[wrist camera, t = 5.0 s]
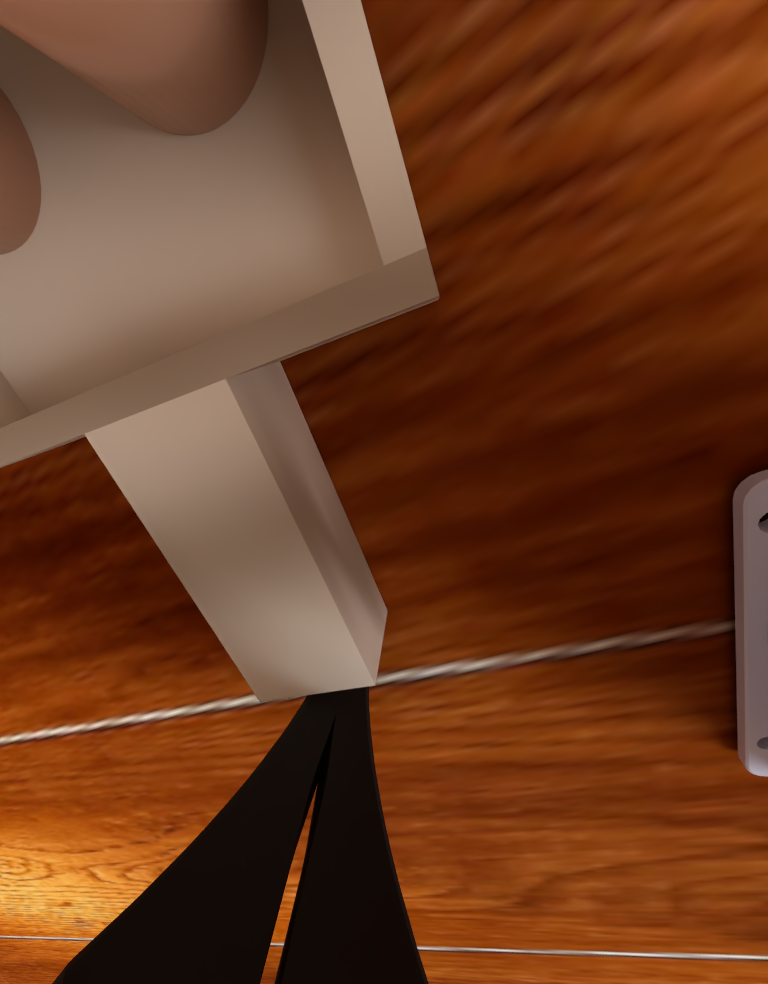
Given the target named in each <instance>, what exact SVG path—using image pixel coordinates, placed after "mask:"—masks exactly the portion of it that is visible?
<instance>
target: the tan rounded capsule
mask: <svg viewBox="0 0 768 984" xmlns="http://www.w3.org/2000/svg"><path fill="white" fill-rule="evenodd" d="M0 25H1V26H2V27H4V28H5V29H7V30H8V31H10V32H11V33H13V34H14V35H16V36H17V37H19V38H20V39H22V40H23V41H25V42H26V43H28V44H29V45H31V46H32V47H34V48H35V49H37V50H38V51H40V52H41V53H43V54H44V55H45V56H47V57H48V58H50V59H51V60H53V61H54V62H56V63H57V64H59V65H60V66H62V67H63V68H65V69H66V70H68V71H69V72H71V73H72V74H74V75H75V76H77V77H78V78H80V79H81V80H83V81H84V82H86V83H87V84H89V85H90V86H92V87H93V88H95V89H96V90H98V91H99V92H101V93H102V94H104V95H105V96H107V97H108V98H110V99H111V100H113V101H114V102H116V103H117V104H119V105H120V106H122V107H123V108H125V109H126V110H127V111H129V112H130V113H132V114H133V115H135V116H136V117H138V118H139V119H141V120H143V121H144V122H146V123H147V124H149V125H150V126H153V127H155V128H157V129H159V130H161V131H164V132H168V133H171V134H176V135H185V136H187V135H199V134H203V133H207V132H210V131H212V130H214V129H216V128H218V127H220V126H221V125H223V124H224V123H226V122H227V121H229V120H230V119H231V118H232V117H233V116H234V115H235V114H236V113H237V112H238V111H239V110H240V108H241V107H242V106H243V104H244V103H245V102H246V100H247V99H248V97H249V95H250V93H251V92H252V90H253V88H254V85H255V83H256V81H257V78H258V76H259V73H260V70H261V66H262V63H263V59H264V54H265V48H266V43H267V32H268V0H0Z"/></svg>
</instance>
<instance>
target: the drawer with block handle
mask: <svg viewBox="0 0 768 984" xmlns="http://www.w3.org/2000/svg"><path fill="white" fill-rule="evenodd" d="M0 88H1V89H2V90H3V92H4V93H5V95H6V96H7V97H8V99H9V100H10V102H11V103H12V105H13V106H14V108H15V110H16V111H17V113H18V115H19V117H20V118H21V120H22V123H23V125H24V127H25V129H26V131H27V133H28V136H29V138H30V141H31V143H32V146H33V149H34V152H35V156H36V159H37V163H38V168H39V173H40V182H41V206H40V213H39V217H38V221H37V224H36V226H35V228H34V231H33V233H32V234H31V236H30V237H29V239H28V240H27V241H26V242H25V243H24V244H23V245H22V246H21V247H19V248H18V249H16V250H15V251H12V252H10V253H7V254H2V255H0V468H2V467H5V466H7V465H10V464H13V463H16V462H18V461H21V460H24V459H27V458H29V457H32V456H35V455H38V454H41V453H43V452H46V451H49V450H52V449H54V448H57V447H60V446H62V445H65V444H68V443H70V442H73V441H75V440H78V439H81V438H83V437H86V438H87V439H88V441H89V442H90V444H91V445H92V447H93V448H94V450H95V451H96V453H97V454H98V456H99V457H100V459H101V460H102V462H103V464H104V465H105V467H106V468H107V470H108V471H109V473H110V474H111V476H112V477H113V479H114V480H115V482H116V483H117V485H118V486H119V488H120V489H121V491H122V492H123V494H124V496H125V497H126V499H127V500H128V502H129V503H130V505H131V506H132V508H133V509H134V511H135V512H136V514H137V515H138V517H139V518H140V520H141V521H142V523H143V524H144V526H145V528H146V529H147V531H148V532H149V534H150V535H151V537H152V538H153V540H154V541H155V543H156V544H157V546H158V547H159V549H160V550H161V552H162V553H163V555H164V556H165V558H166V560H167V561H168V563H169V564H170V566H171V567H172V569H173V570H174V572H175V573H176V575H177V576H178V578H179V579H180V581H181V582H182V584H183V585H184V587H185V588H186V590H187V592H188V593H189V595H190V596H191V598H192V599H193V601H194V602H195V604H196V605H197V607H198V608H199V610H200V611H201V613H202V614H203V616H204V617H205V619H206V620H207V622H208V624H209V625H210V627H211V628H212V630H213V631H214V633H215V634H216V636H217V637H218V639H219V640H220V642H221V643H222V645H223V646H224V648H225V649H226V651H227V652H228V654H229V656H230V657H231V659H232V660H233V662H234V663H235V665H236V666H237V668H238V669H239V671H240V672H241V674H242V675H243V677H244V678H245V680H246V681H247V683H248V684H249V686H250V688H251V689H252V691H253V692H254V694H255V695H256V697H257V698H258V700H259V701H260V702H263V701H270V700H277V699H284V698H291V697H298V696H305V695H312V694H319V693H326V692H333V691H339V690H346V689H353V688H360V687H367V686H374V685H376V679H377V673H378V667H379V660H380V654H381V648H382V642H383V636H384V630H385V624H386V618H387V612H388V611H387V608H386V606H385V604H384V601H383V599H382V597H381V594H380V592H379V590H378V587H377V585H376V583H375V580H374V578H373V576H372V573H371V571H370V569H369V567H368V564H367V562H366V560H365V557H364V555H363V553H362V550H361V548H360V546H359V543H358V541H357V539H356V536H355V534H354V532H353V529H352V527H351V525H350V522H349V520H348V518H347V515H346V513H345V511H344V508H343V506H342V504H341V502H340V499H339V497H338V495H337V492H336V490H335V488H334V485H333V483H332V481H331V478H330V476H329V474H328V471H327V469H326V467H325V464H324V462H323V460H322V457H321V455H320V453H319V450H318V448H317V446H316V443H315V441H314V439H313V437H312V434H311V432H310V430H309V427H308V425H307V423H306V420H305V418H304V416H303V413H302V411H301V409H300V406H299V404H298V402H297V399H296V397H295V395H294V392H293V390H292V388H291V385H290V383H289V381H288V378H287V376H286V374H285V372H284V369H283V367H282V365H281V362H280V361H282V360H285V359H287V358H290V357H292V356H295V355H298V354H300V353H303V352H305V351H308V350H310V349H313V348H316V347H318V346H321V345H323V344H326V343H329V342H331V341H334V340H336V339H339V338H341V337H344V336H347V335H349V334H352V333H354V332H357V331H360V330H362V329H365V328H367V327H370V326H372V325H375V324H378V323H380V322H383V321H385V320H388V319H391V318H393V317H396V316H398V315H401V314H403V313H406V312H409V311H411V310H414V309H416V308H419V307H422V306H424V305H427V304H429V303H432V302H434V301H437V300H439V292H438V288H437V284H436V281H435V277H434V273H433V269H432V266H431V262H430V258H429V254H428V251H427V247H426V243H425V239H424V236H423V232H422V228H421V224H420V221H419V217H418V213H417V209H416V206H415V202H414V198H413V194H412V191H411V187H410V183H409V179H408V176H407V172H406V168H405V164H404V161H403V157H402V153H401V149H400V146H399V142H398V138H397V134H396V131H395V127H394V123H393V119H392V116H391V112H390V108H389V104H388V101H387V97H386V93H385V90H384V86H383V82H382V78H381V75H380V71H379V67H378V63H377V60H376V56H375V52H374V48H373V45H372V41H371V37H370V33H369V30H368V26H367V22H366V18H365V15H364V11H363V7H362V3H361V0H268V32H267V43H266V48H265V54H264V59H263V63H262V66H261V70H260V73H259V76H258V78H257V81H256V83H255V85H254V88H253V90H252V92H251V93H250V95H249V97H248V99H247V100H246V102H245V103H244V104H243V106H242V107H241V108H240V110H239V111H238V112H237V113H236V114H235V115H234V116H233V117H232V118H231V119H230V120H229V121H227V122H226V123H224V124H223V125H221V126H220V127H218V128H216V129H214V130H212V131H210V132H207V133H203V134H199V135H187V136H185V135H176V134H171V133H168V132H164V131H161V130H159V129H157V128H155V127H153V126H150V125H149V124H147V123H146V122H144V121H143V120H141V119H139V118H138V117H136V116H135V115H133V114H132V113H130V112H129V111H127V110H126V109H125V108H123V107H122V106H120V105H119V104H117V103H116V102H114V101H113V100H111V99H110V98H108V97H107V96H105V95H104V94H102V93H101V92H99V91H98V90H96V89H95V88H93V87H92V86H90V85H89V84H87V83H86V82H84V81H83V80H81V79H80V78H78V77H77V76H75V75H74V74H72V73H71V72H69V71H68V70H66V69H65V68H63V67H62V66H60V65H59V64H57V63H56V62H54V61H53V60H51V59H50V58H48V57H47V56H45V55H44V54H43V53H41V52H40V51H38V50H37V49H35V48H34V47H32V46H31V45H29V44H28V43H26V42H25V41H23V40H22V39H20V38H19V37H17V36H16V35H14V34H13V33H11V32H10V31H8V30H7V29H5V28H4V27H2V26H1V25H0Z"/></svg>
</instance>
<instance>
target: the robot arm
mask: <svg viewBox="0 0 768 984" xmlns="http://www.w3.org/2000/svg"><path fill="white" fill-rule="evenodd" d="M766 513H768V470H764V471H760V472H758V473H755V474H752V475H750V476H749V477H747V478H746V479H744V480H743V481H742V482H741V483H740V484H739V485H738V487H737V488H736V490H735V492H734V496H733V535H734V584H735V633H736V682H737V731H738V756H739V759H740V760H741V762H742V763H743V765H744V766H745V768H746V769H747V770H748V771H749V772H750V773H752V774H755V775H759V776H768V519H767V520H765V521H763V522H760V523H759V520H760V518H761V517H762V516H764V515H765V514H766ZM317 783H318V785H317ZM316 786H317V790H316V796H315V802H314V808H313V813H312V819H311V825H310V831H309V836H308V842H307V848H306V853H305V858H304V863H303V868H302V872H301V877H300V881H299V885H298V889H297V893H296V897H295V902H294V906H293V910H292V914H291V918H290V922H289V926H288V930H287V935H286V939H285V943H284V947H283V951H282V955H281V959H280V963H279V967H278V972H277V976H276V980H275V984H428V981H427V978H426V974H425V971H424V968H423V965H422V962H421V958H420V955H419V952H418V949H417V946H416V942H415V939H414V935H413V932H412V928H411V925H410V921H409V917H408V914H407V910H406V907H405V903H404V900H403V896H402V893H401V889H400V885H399V882H398V878H397V874H396V869H395V865H394V861H393V857H392V853H391V849H390V844H389V840H388V835H387V831H386V826H385V821H384V816H383V811H382V806H381V801H380V795H379V789H378V783H377V777H376V770H375V763H374V755H373V747H372V738H371V728H370V714H369V686H367V687H360V688H353V689H346V690H339V691H333V692H326V693H319V694H312V695H307V697H306V699H305V700H304V702H303V704H302V705H301V707H300V708H299V710H298V711H297V713H296V714H295V716H294V717H293V719H292V720H291V722H290V723H289V725H288V726H287V728H286V729H285V731H284V732H283V733H282V735H281V736H280V738H279V739H278V740H277V742H276V743H275V744H274V746H273V747H272V748H271V750H270V751H269V752H268V754H267V755H266V756H265V758H264V759H263V760H262V762H261V763H260V764H259V766H258V767H257V768H256V769H255V771H254V772H253V773H252V774H251V776H250V777H249V778H248V779H247V781H246V782H245V783H244V784H243V785H242V787H241V788H240V789H239V790H238V791H237V792H236V794H235V795H234V796H233V797H232V798H231V800H230V801H229V802H228V803H227V804H226V805H225V807H224V808H223V809H222V810H221V811H220V812H219V813H218V814H217V815H216V817H215V818H214V819H213V820H212V821H211V822H210V823H209V824H208V826H207V827H206V828H205V829H204V830H203V831H202V832H201V833H200V834H199V835H198V837H197V838H196V839H195V840H194V841H193V842H192V843H191V844H190V845H189V846H188V847H187V848H186V849H185V850H184V851H183V852H182V853H181V854H180V855H179V856H178V858H177V859H176V860H175V861H174V862H173V863H172V864H171V865H170V866H169V867H168V868H167V869H166V870H165V871H164V872H163V873H162V874H161V875H160V876H159V877H158V878H157V879H156V880H155V881H154V882H153V883H152V884H151V885H150V886H149V887H148V888H147V889H146V890H145V891H144V892H143V893H142V894H141V895H140V896H139V897H138V898H137V899H136V900H135V901H134V902H133V903H132V904H131V905H130V906H129V907H128V908H126V909H125V910H124V911H123V912H122V913H121V914H120V915H119V916H118V917H117V918H116V919H115V920H114V921H113V922H111V923H110V924H109V925H108V926H107V927H106V928H105V929H104V930H103V931H102V932H101V933H100V934H99V935H98V936H96V937H95V938H94V939H93V940H92V941H91V942H90V943H89V944H88V945H87V946H86V947H85V948H84V949H83V950H82V951H80V952H79V953H78V954H77V955H76V956H75V957H74V958H73V959H72V960H71V961H70V962H69V963H68V965H67V966H66V967H65V968H64V970H63V971H62V972H61V973H60V975H59V976H58V977H57V978H56V980H55V981H54V982H53V983H52V984H260V981H261V978H262V974H263V970H264V966H265V962H266V958H267V955H268V951H269V947H270V943H271V939H272V935H273V932H274V928H275V924H276V920H277V916H278V912H279V909H280V905H281V901H282V897H283V893H284V889H285V886H286V882H287V878H288V874H289V870H290V867H291V863H292V860H293V857H294V853H295V850H296V847H297V844H298V841H299V838H300V835H301V832H302V829H303V826H304V823H305V820H306V817H307V814H308V811H309V808H310V805H311V801H312V798H313V795H314V792H315V789H316Z"/></svg>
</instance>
